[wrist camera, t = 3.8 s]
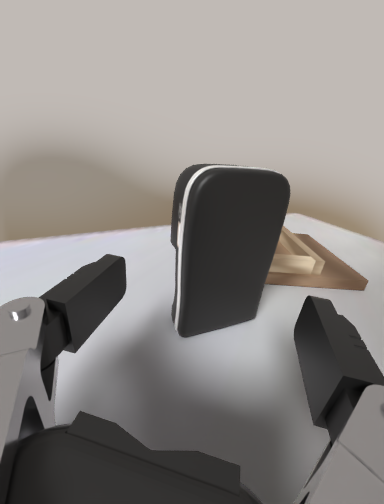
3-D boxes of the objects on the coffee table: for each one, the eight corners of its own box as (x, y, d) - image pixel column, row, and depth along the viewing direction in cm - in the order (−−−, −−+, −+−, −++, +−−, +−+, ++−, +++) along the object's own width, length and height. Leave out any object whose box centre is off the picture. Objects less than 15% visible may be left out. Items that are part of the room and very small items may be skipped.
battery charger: (232, 293, 21) (260, 164, 16) (258, 320, 18) (302, 171, 13) (161, 307, 18) (167, 157, 13) (177, 343, 15) (193, 165, 10)
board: (305, 241, 35) (310, 224, 34) (363, 290, 24) (375, 267, 23) (204, 233, 34) (207, 215, 33) (214, 280, 23) (218, 256, 22)
